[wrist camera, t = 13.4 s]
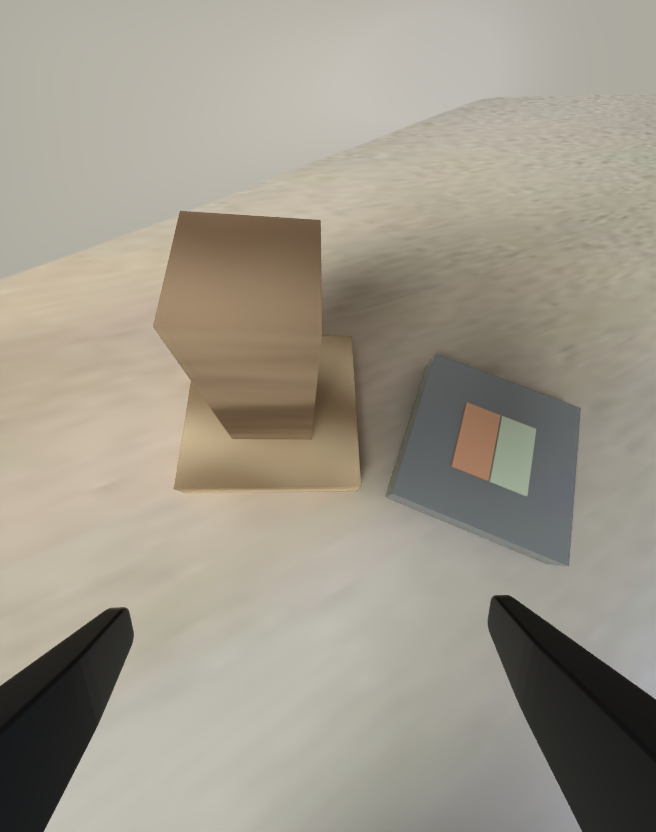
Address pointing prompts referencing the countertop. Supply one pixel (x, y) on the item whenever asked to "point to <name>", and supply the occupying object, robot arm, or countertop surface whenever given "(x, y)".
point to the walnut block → (247, 319)
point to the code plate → (491, 460)
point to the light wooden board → (279, 441)
